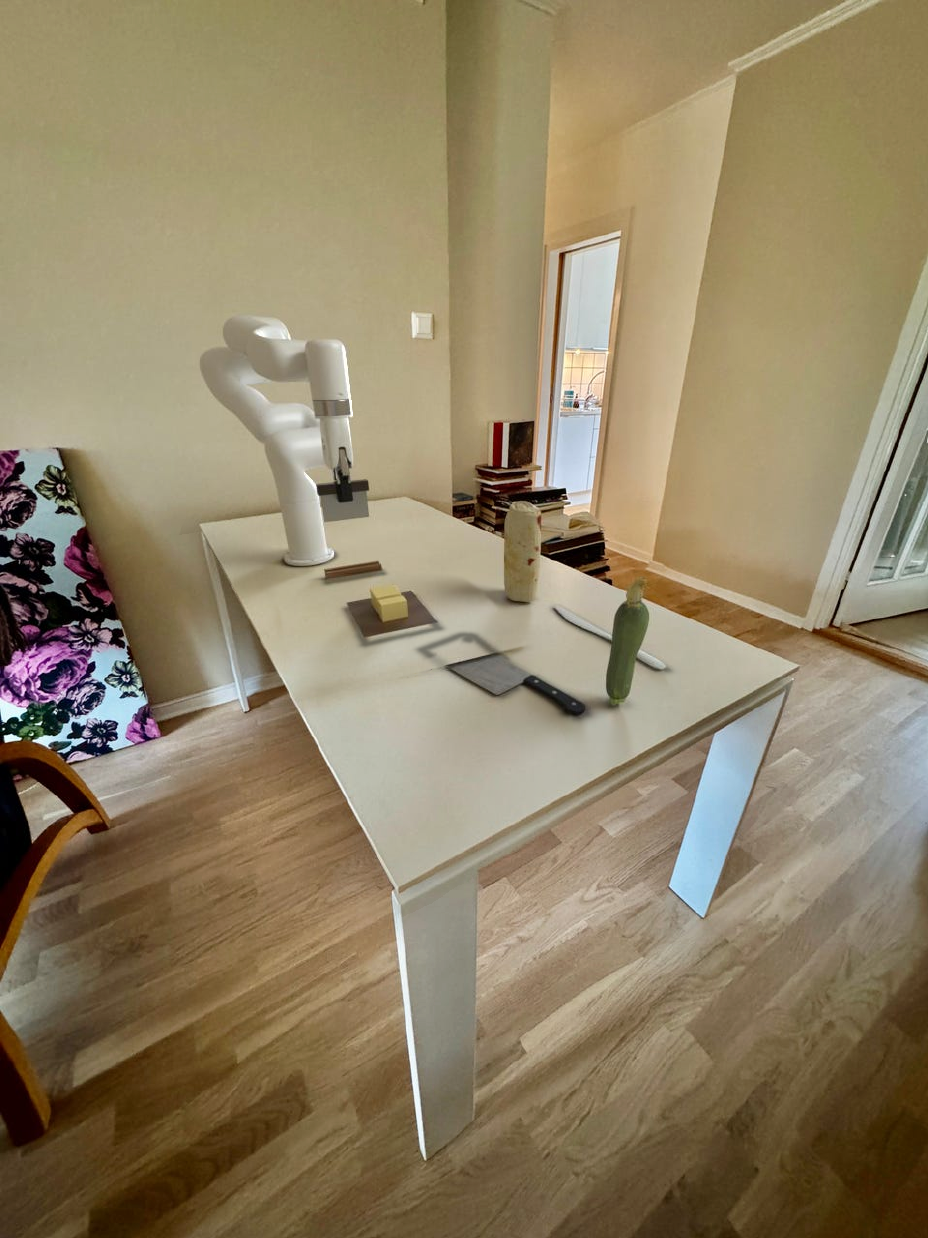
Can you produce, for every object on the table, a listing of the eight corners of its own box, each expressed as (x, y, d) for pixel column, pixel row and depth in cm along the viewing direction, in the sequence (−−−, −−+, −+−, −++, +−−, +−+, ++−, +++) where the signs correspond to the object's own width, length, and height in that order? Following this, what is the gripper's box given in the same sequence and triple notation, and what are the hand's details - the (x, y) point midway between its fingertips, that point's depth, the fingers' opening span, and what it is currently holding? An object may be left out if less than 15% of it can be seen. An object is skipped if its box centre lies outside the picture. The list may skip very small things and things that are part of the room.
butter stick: (371, 604, 97) (369, 588, 96) (395, 599, 99) (394, 583, 97) (377, 614, 93) (375, 597, 92) (402, 609, 95) (401, 593, 93)
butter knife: (655, 670, 76) (668, 664, 77) (548, 608, 97) (560, 603, 98) (655, 673, 76) (668, 667, 77) (548, 610, 97) (560, 606, 98)
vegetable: (598, 693, 72) (615, 568, 63) (626, 691, 72) (648, 566, 63) (609, 711, 68) (629, 581, 59) (638, 709, 68) (663, 579, 59)
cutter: (321, 521, 106) (315, 483, 103) (370, 515, 110) (366, 478, 106) (322, 523, 105) (316, 485, 101) (372, 517, 109) (368, 480, 105)
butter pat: (379, 616, 92) (377, 600, 91) (404, 611, 94) (402, 595, 92) (382, 622, 90) (380, 605, 89) (408, 616, 92) (406, 600, 90)
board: (347, 608, 99) (346, 602, 98) (412, 596, 104) (411, 590, 103) (365, 644, 86) (364, 637, 85) (438, 628, 91) (438, 621, 90)
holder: (325, 578, 114) (324, 569, 112) (379, 570, 118) (378, 560, 117) (327, 583, 111) (326, 573, 110) (382, 574, 116) (381, 564, 114)
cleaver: (542, 738, 63) (592, 707, 68) (543, 734, 63) (592, 704, 68) (421, 649, 84) (466, 631, 89) (421, 647, 84) (466, 629, 89)
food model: (545, 602, 100) (552, 507, 91) (518, 608, 98) (521, 511, 88) (521, 585, 108) (525, 496, 99) (495, 591, 106) (496, 500, 96)
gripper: (308, 407, 102) (321, 494, 111) (320, 413, 89) (333, 510, 98) (343, 406, 105) (353, 491, 113) (359, 411, 92) (370, 506, 101)
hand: (344, 499), depth 106 cm, fingers closed on cutter, 1 cm apart
